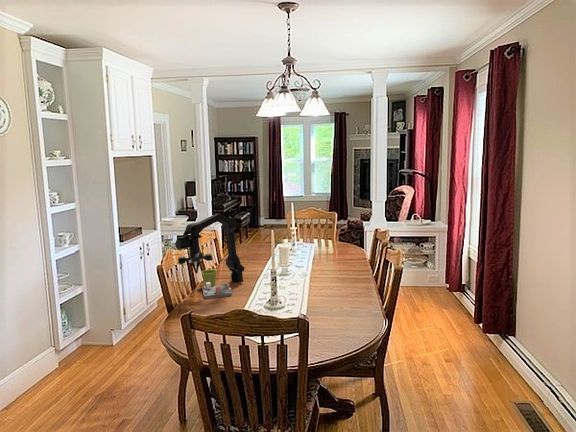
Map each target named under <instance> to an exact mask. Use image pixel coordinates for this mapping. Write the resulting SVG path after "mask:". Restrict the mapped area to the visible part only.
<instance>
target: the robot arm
mask: <svg viewBox="0 0 576 432" xmlns="http://www.w3.org/2000/svg"><path fill="white" fill-rule="evenodd" d="M216 223H219V224H221V226H222V229H223V231H224V232H225V239H226V245H227V254H228V256H227V258H225V265H226V268H228V270H229V271H231V273H230V281H232V283H238V282H243V281H244V279H243V278H244V277H243V272H244V271H245V269H246V267H244V265H242V264H241V260H240V258H239V256H238V254H237V247H236V239H235V238H236V237H235V230H236V227H237V226H236V223H237V222H236V218H233V217H228V216H226V215H223V214H222V213H214V214H213V215H211V216H209V217H206V218H204V219H202V220H201V221H198V222H194V223H189V224H186V225H185V226H186V227H185V229H184V230H185V231H184V232H183V235H182V236H180V237H176V240H175V243H174V245H175V248H176V249H177V250H178V251H181V250H184V249H189V250H188V254H189V257H186V256H179V257H178V258H177V261H178V265H181V264H185V263H186V262H188V265H191V266H192V268H193V270H194V273H195V274H196V275H197V274H198V272H199V267H200V265H201V264H202V263H203V260H205V261H213V256H212V255H213V254H211V253H207V254H206V253H205V254H204V252H201V251H200V249H201V248H200V241H199V239H201V238H203V237H202V235H201V234H200V233H202V232H203V230H204V229H206V228H208V227H210V226H212V225H214V224H216ZM195 263H196V264H195Z"/></svg>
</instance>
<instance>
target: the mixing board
mask: <svg viewBox="0 0 576 432" xmlns="http://www.w3.org/2000/svg"><path fill="white" fill-rule="evenodd" d="M218 285H220V290H221V292H219V293H216V288H215V286H218ZM215 286H211V289H207V288H206V286H205V285H204V286H202V287H201V290H202V294H203V299H204V300H207V299H206V298H208V299H214V298H215V297H216V298H222V297H223V298H224V297H231V296H233V292H232V287H230V283H225V284H217V285H216V284H215Z"/></svg>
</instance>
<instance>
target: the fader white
mask: <svg viewBox="0 0 576 432" xmlns="http://www.w3.org/2000/svg"><path fill="white" fill-rule="evenodd" d="M206 288H207V289H211V283H210V282H206Z"/></svg>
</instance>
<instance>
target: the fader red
mask: <svg viewBox="0 0 576 432" xmlns="http://www.w3.org/2000/svg"><path fill="white" fill-rule="evenodd" d="M217 285H218V286H215V288H216V293H219V292H221V290H220V285H221V284H217Z"/></svg>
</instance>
